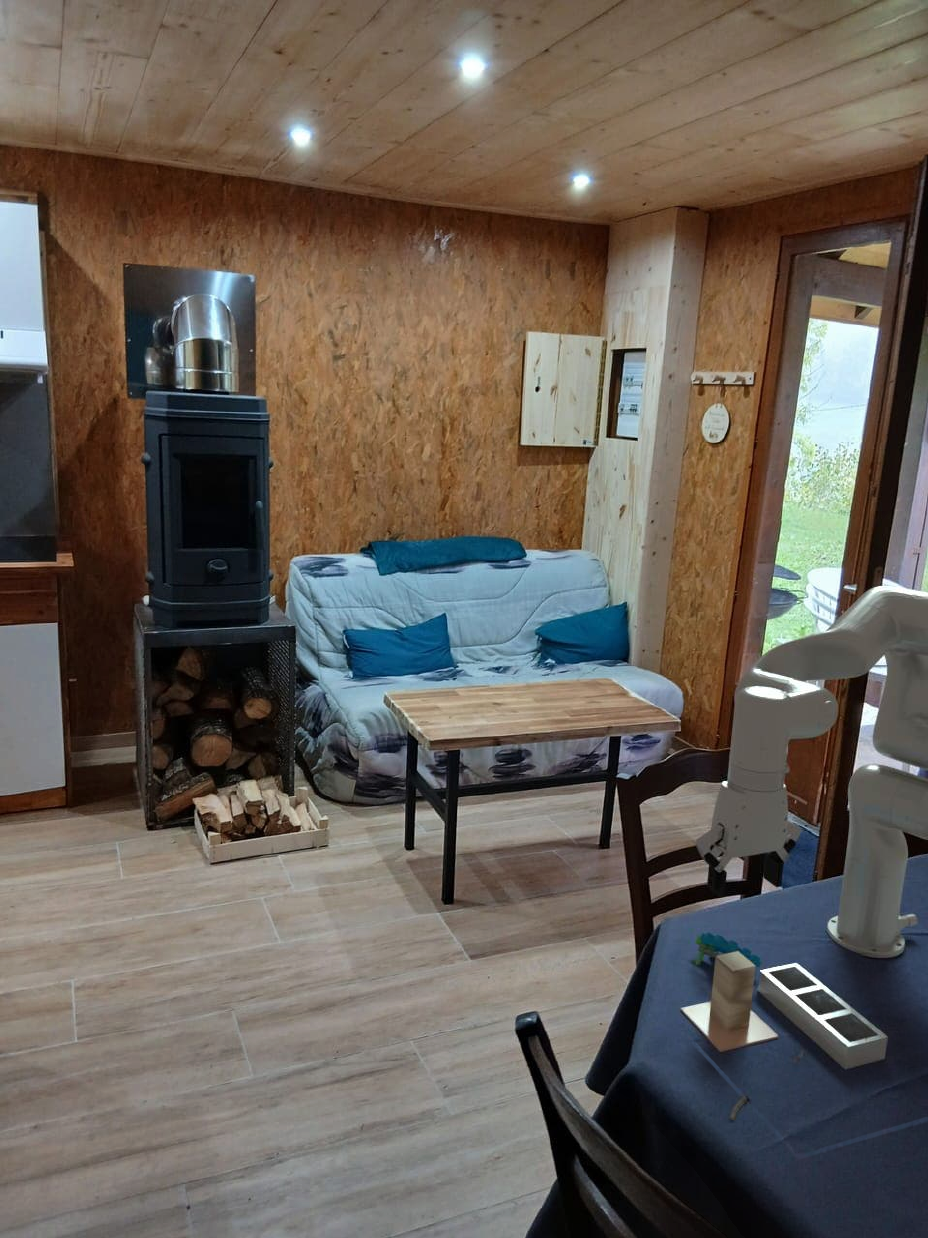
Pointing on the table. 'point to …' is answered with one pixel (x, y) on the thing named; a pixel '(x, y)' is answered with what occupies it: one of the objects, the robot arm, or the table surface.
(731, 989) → the peg
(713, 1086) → the table surface
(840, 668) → the robot arm
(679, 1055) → the table surface
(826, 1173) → the table surface
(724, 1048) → the tile
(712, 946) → the gear
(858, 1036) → the shelf
